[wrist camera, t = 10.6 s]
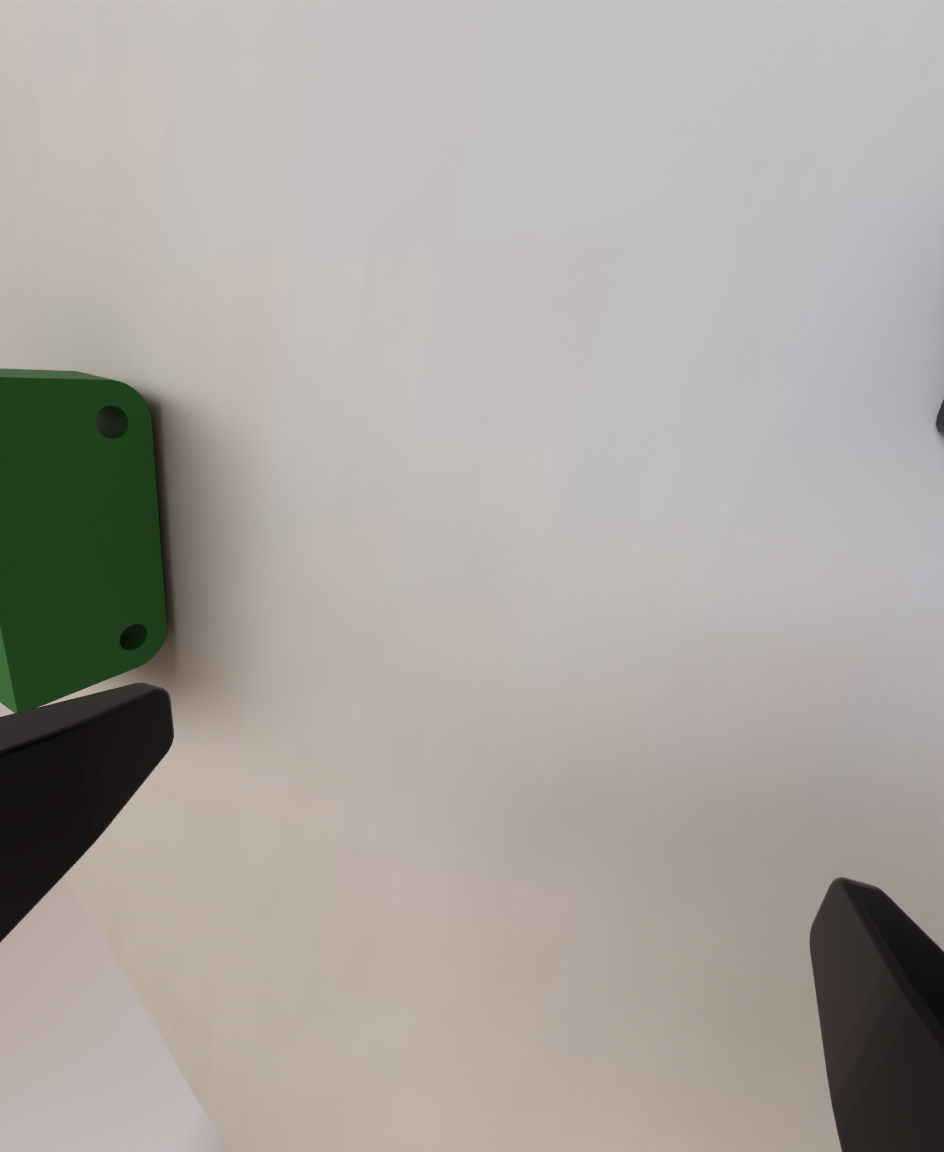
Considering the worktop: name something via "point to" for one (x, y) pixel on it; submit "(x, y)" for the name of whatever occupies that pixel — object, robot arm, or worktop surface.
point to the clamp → (75, 535)
